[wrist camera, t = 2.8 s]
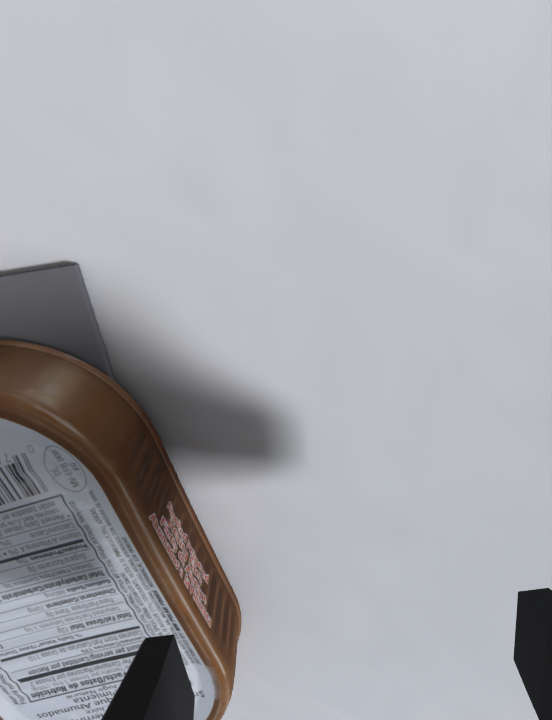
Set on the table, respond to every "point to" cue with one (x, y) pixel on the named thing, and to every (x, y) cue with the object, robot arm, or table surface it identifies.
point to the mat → (52, 313)
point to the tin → (97, 547)
